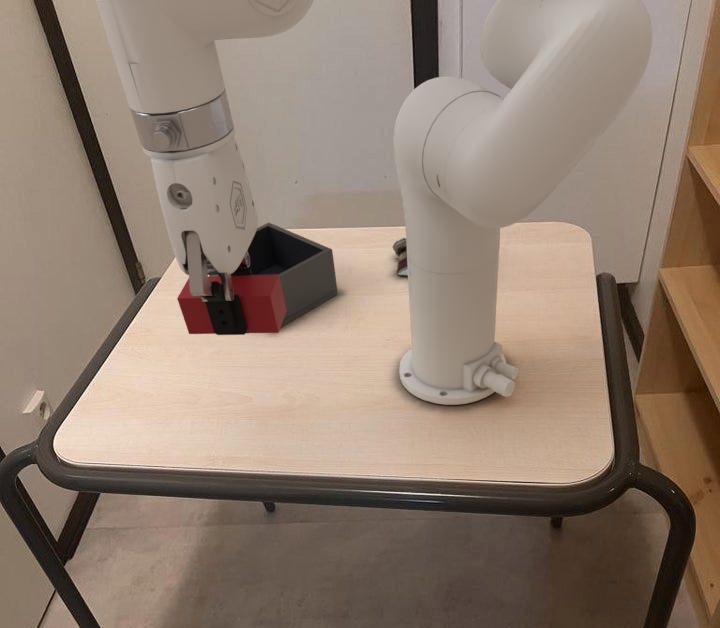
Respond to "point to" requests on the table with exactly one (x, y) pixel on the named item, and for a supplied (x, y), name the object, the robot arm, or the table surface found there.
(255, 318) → the red rectangular brick
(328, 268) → the grey storage bin
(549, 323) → the table surface
